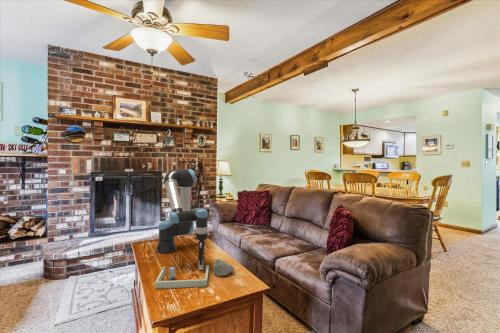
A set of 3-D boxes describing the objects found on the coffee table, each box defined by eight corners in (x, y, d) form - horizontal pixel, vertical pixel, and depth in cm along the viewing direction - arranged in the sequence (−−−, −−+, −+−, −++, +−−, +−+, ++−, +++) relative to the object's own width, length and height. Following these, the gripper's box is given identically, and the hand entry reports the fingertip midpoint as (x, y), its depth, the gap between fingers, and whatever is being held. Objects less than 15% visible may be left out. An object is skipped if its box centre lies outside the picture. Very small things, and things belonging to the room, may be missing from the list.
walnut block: (198, 266, 168) (198, 255, 168) (204, 265, 168) (205, 255, 168) (197, 269, 163) (197, 258, 163) (204, 268, 164) (204, 258, 164)
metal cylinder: (169, 277, 151) (169, 266, 151) (176, 277, 151) (176, 265, 151) (168, 280, 147) (168, 268, 147) (175, 280, 147) (175, 268, 147)
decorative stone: (212, 278, 150) (222, 266, 148) (209, 265, 159) (218, 254, 158) (228, 284, 156) (238, 272, 155) (224, 271, 165) (233, 260, 164)
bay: (162, 273, 156) (162, 266, 155) (209, 272, 159) (209, 265, 159) (154, 288, 137) (154, 280, 137) (207, 286, 141) (207, 278, 141)
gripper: (197, 228, 175) (197, 261, 175) (194, 237, 155) (193, 273, 156) (208, 228, 176) (207, 261, 176) (206, 237, 156) (206, 273, 156)
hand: (201, 267), depth 166 cm, fingers open, 7 cm apart
